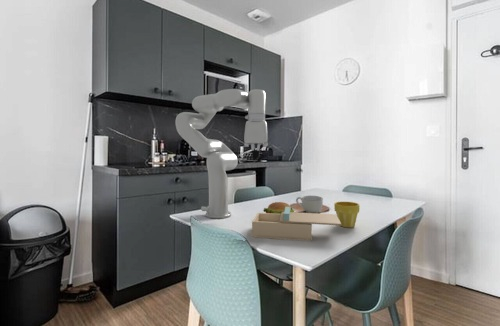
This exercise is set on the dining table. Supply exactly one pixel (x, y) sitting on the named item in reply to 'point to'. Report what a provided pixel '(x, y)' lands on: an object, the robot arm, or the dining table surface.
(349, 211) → the plant pot
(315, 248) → the dining table surface
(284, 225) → the box
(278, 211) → the food
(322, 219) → the lid
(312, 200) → the teacup
